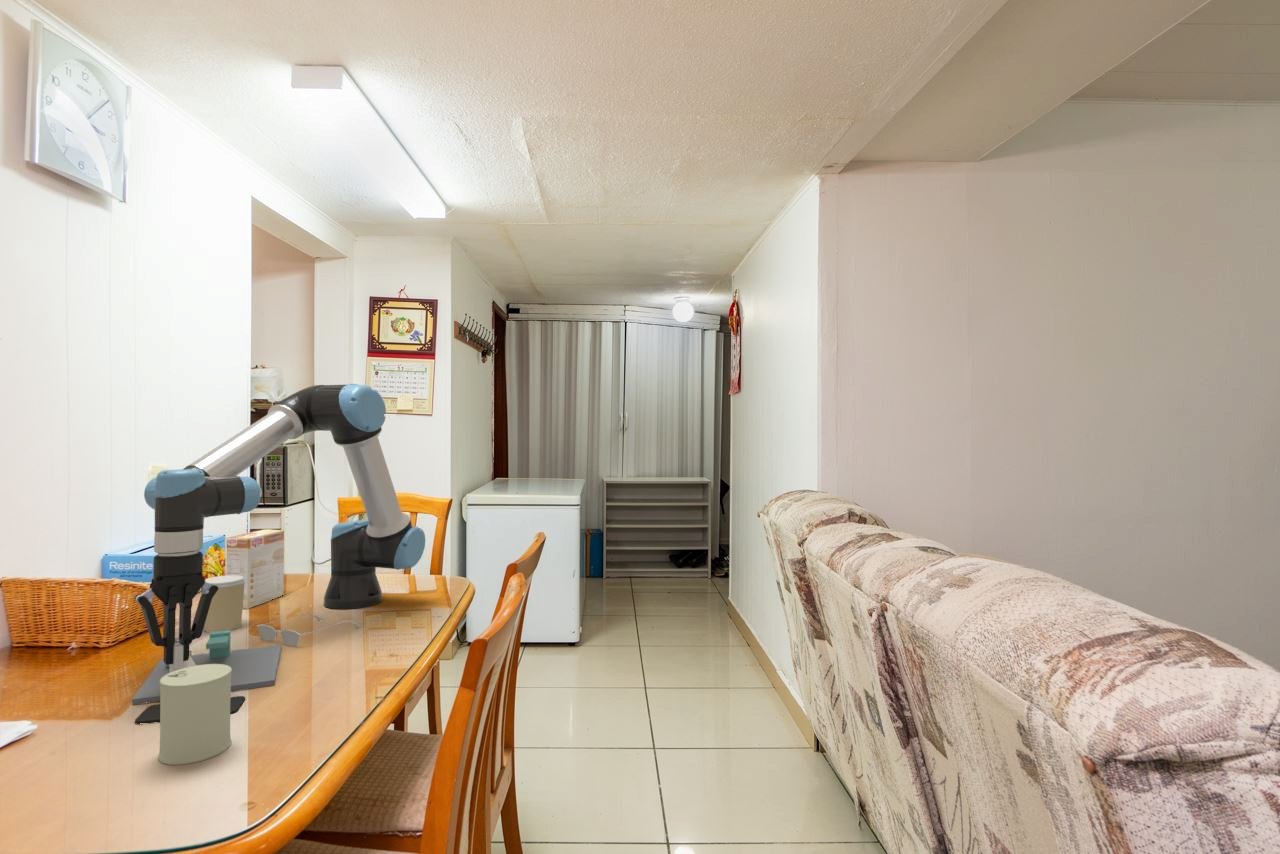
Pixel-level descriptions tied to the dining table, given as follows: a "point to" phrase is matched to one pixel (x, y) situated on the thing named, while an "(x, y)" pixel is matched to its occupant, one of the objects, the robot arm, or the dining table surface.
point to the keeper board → (246, 664)
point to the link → (188, 662)
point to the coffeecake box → (257, 564)
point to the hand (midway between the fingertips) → (176, 679)
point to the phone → (153, 711)
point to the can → (194, 713)
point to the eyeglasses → (288, 632)
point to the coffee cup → (225, 603)
